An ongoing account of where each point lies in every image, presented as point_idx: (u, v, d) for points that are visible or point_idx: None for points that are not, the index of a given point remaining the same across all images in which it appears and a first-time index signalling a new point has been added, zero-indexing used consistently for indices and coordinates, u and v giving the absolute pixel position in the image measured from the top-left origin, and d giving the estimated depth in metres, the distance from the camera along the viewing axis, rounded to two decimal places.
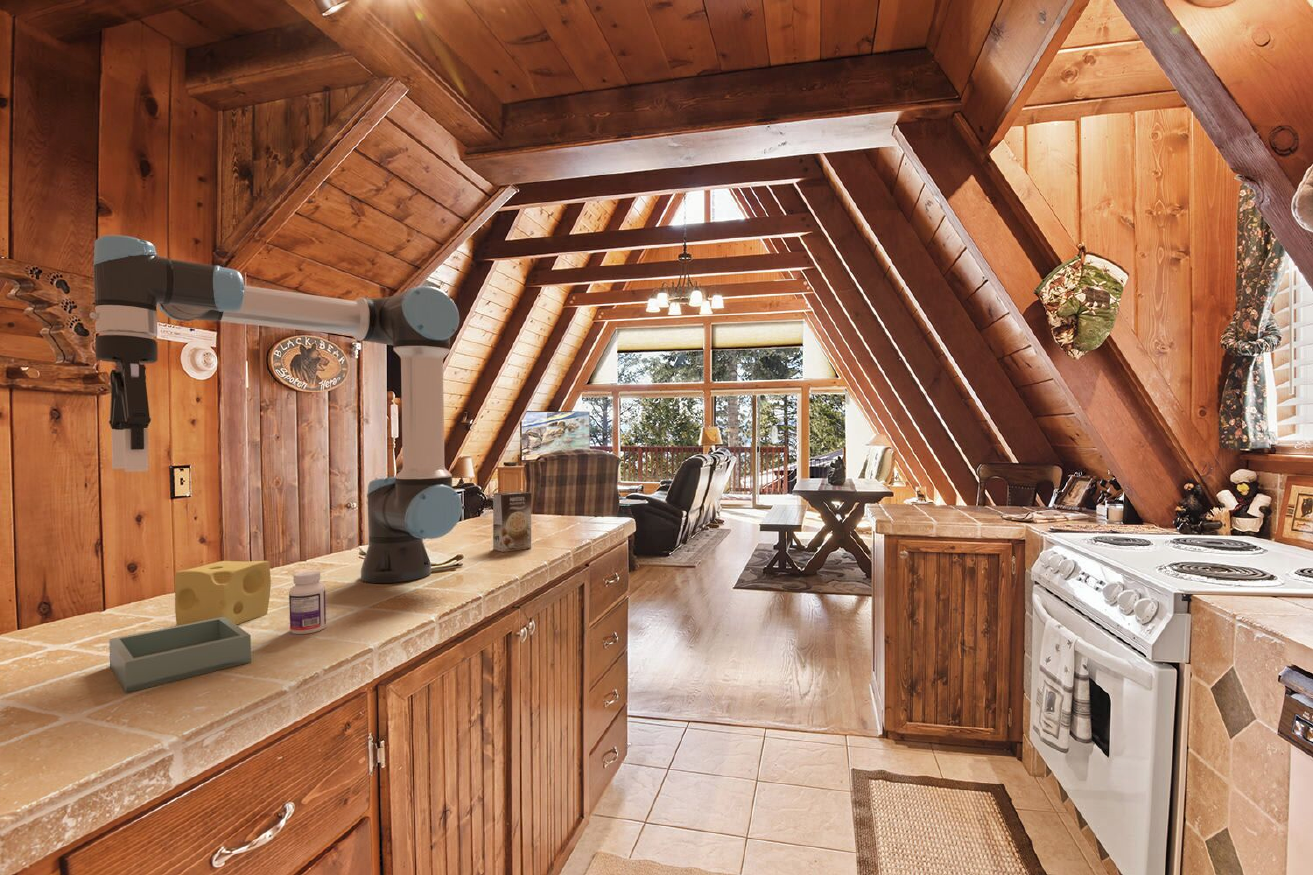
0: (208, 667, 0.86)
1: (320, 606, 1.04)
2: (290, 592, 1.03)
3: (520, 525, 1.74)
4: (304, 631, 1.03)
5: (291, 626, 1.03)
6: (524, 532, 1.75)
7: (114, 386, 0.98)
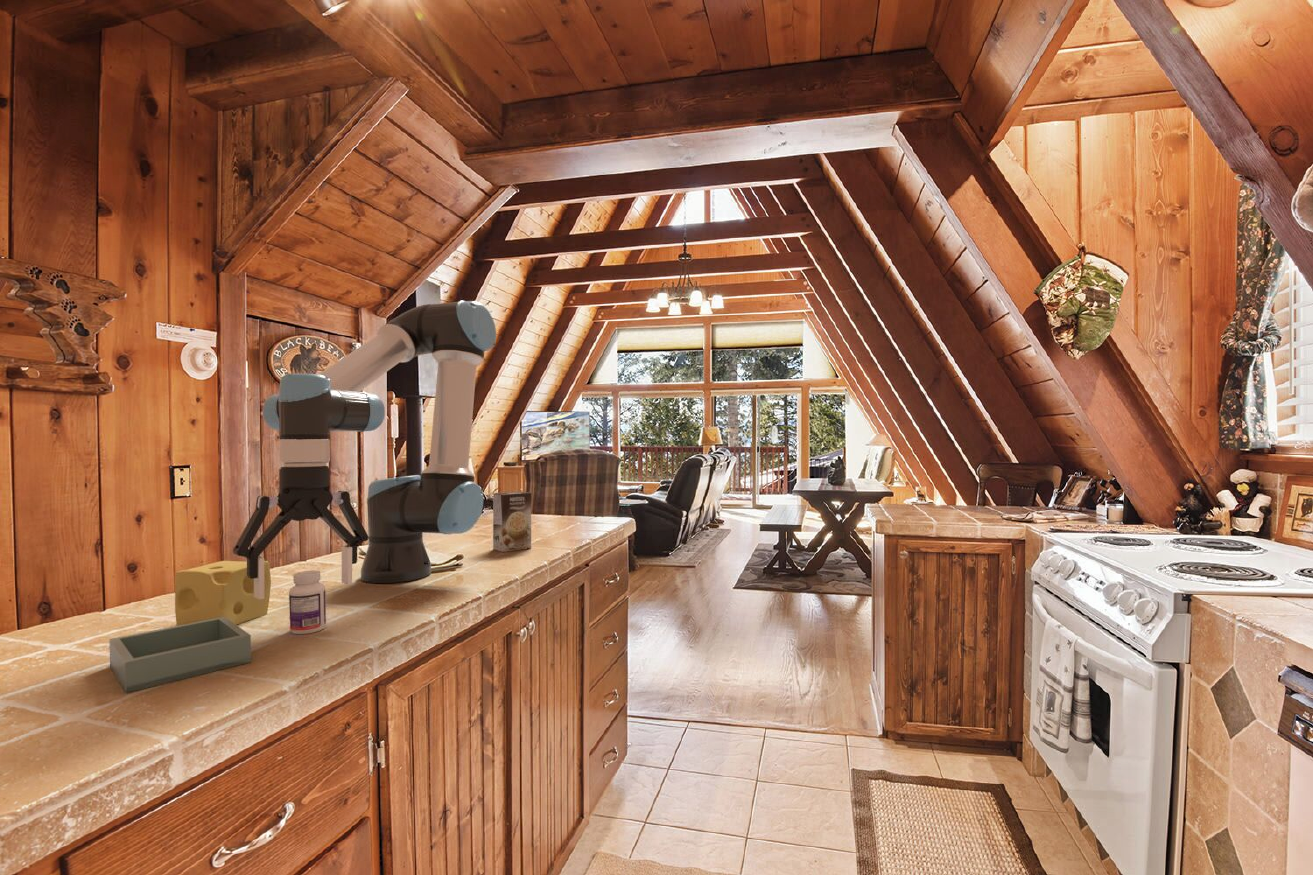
0: (208, 667, 0.86)
1: (320, 606, 1.04)
2: (290, 592, 1.03)
3: (520, 525, 1.74)
4: (304, 631, 1.03)
5: (291, 626, 1.03)
6: (524, 532, 1.75)
7: None
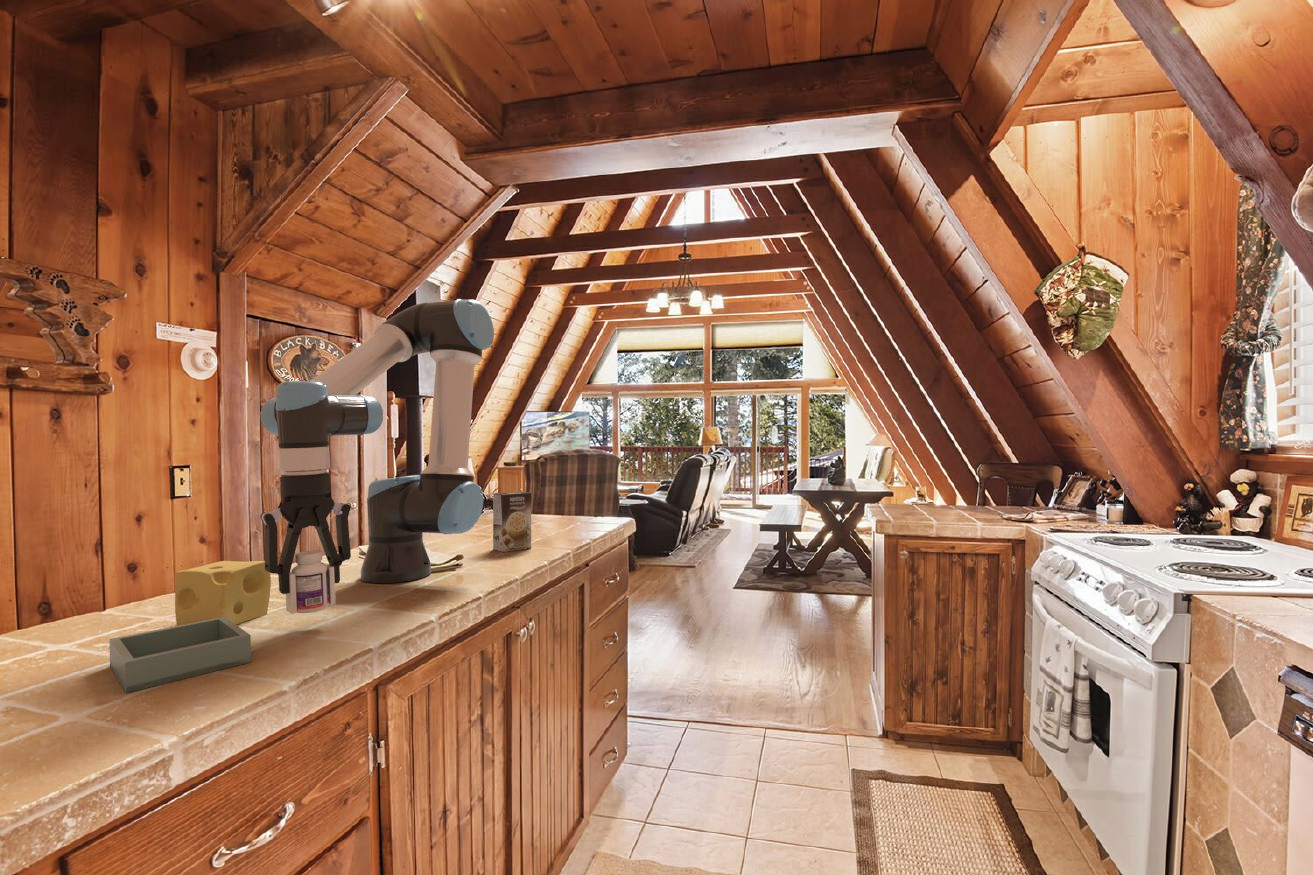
0: (208, 667, 0.86)
1: (323, 586, 1.05)
2: (292, 572, 1.03)
3: (520, 525, 1.74)
4: (307, 610, 1.03)
5: None
6: (524, 532, 1.75)
7: None
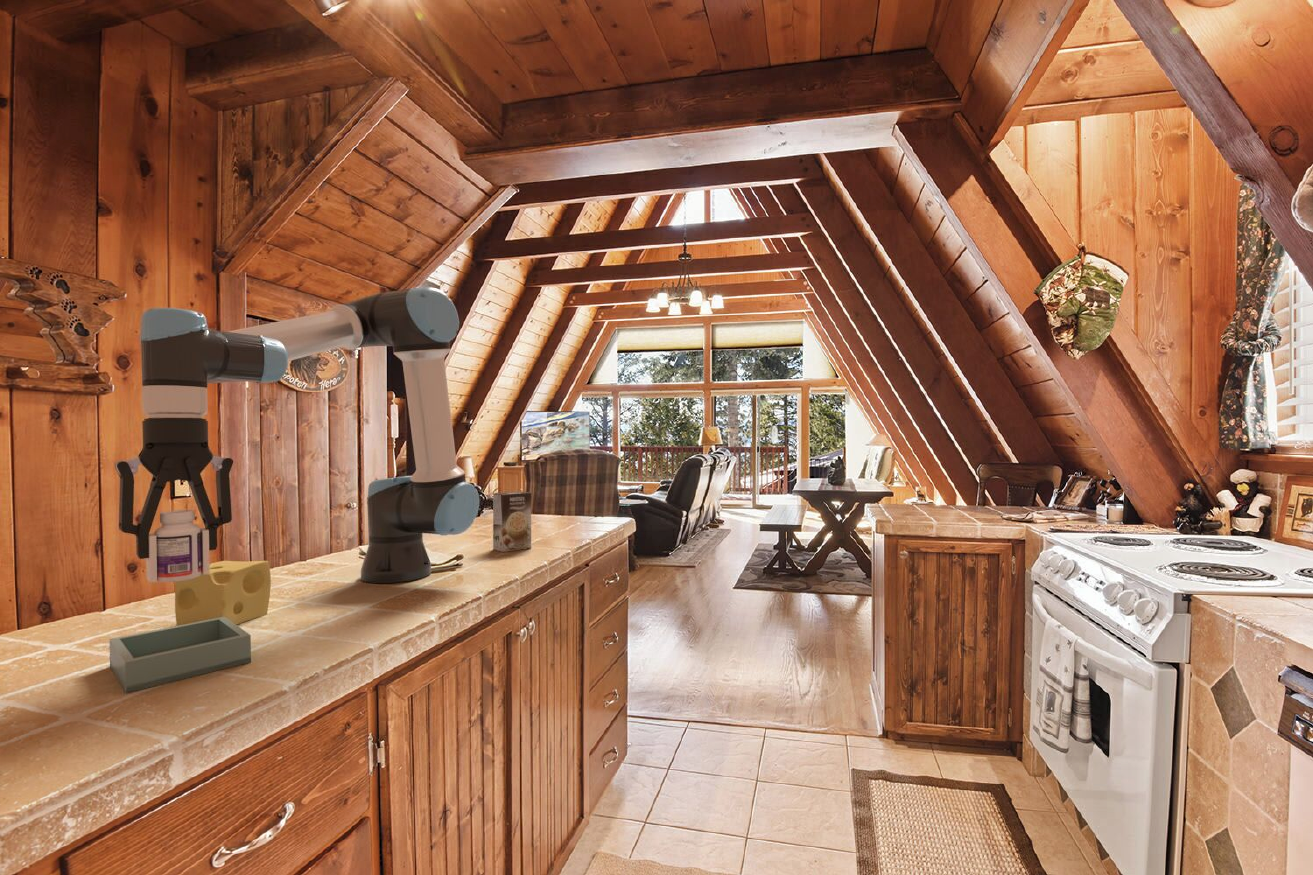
0: (208, 667, 0.86)
1: (192, 551, 0.89)
2: (154, 533, 0.87)
3: (520, 525, 1.74)
4: (170, 578, 0.87)
5: None
6: (524, 532, 1.75)
7: None
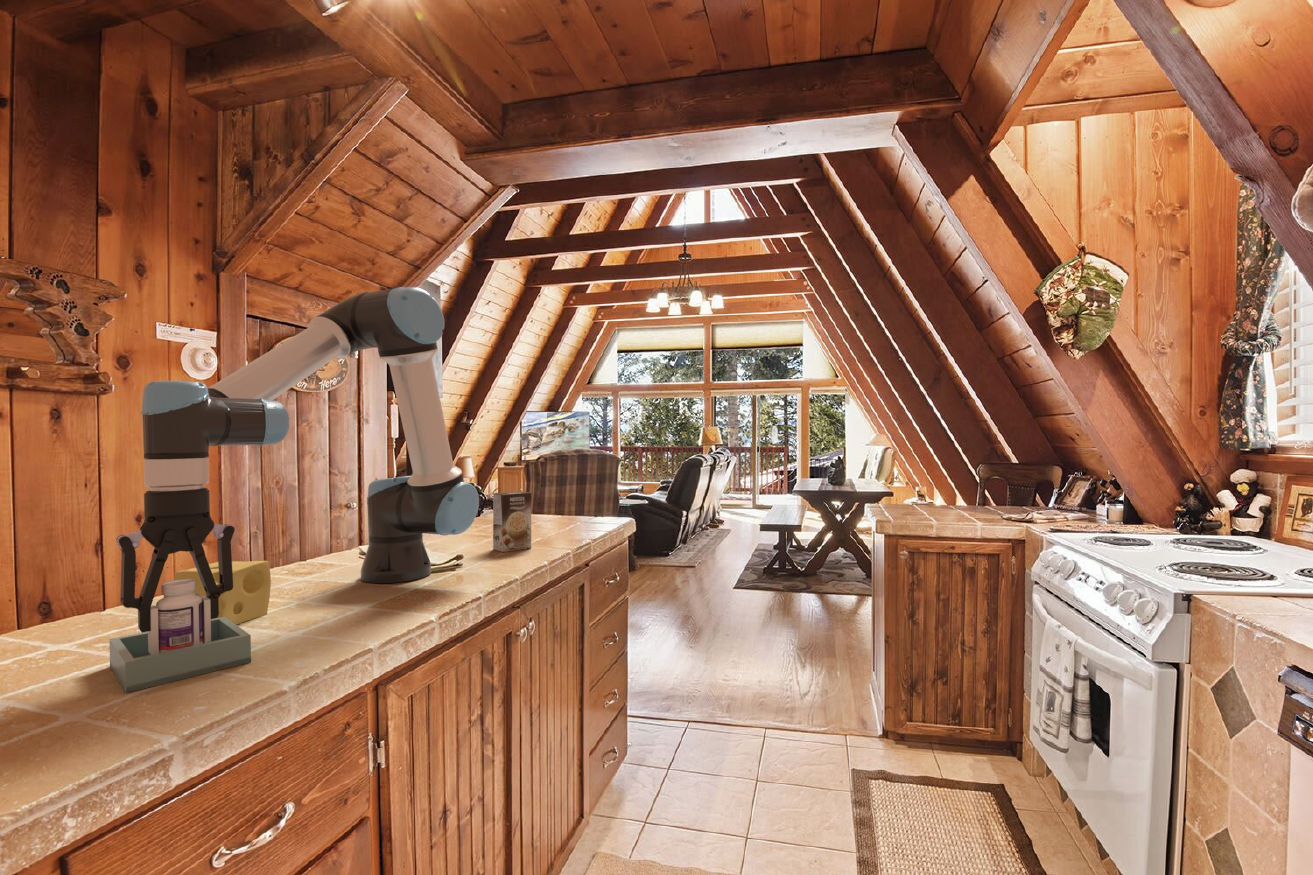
0: (208, 667, 0.86)
1: (194, 622, 0.89)
2: (156, 605, 0.88)
3: (520, 525, 1.74)
4: None
5: None
6: (524, 532, 1.75)
7: None
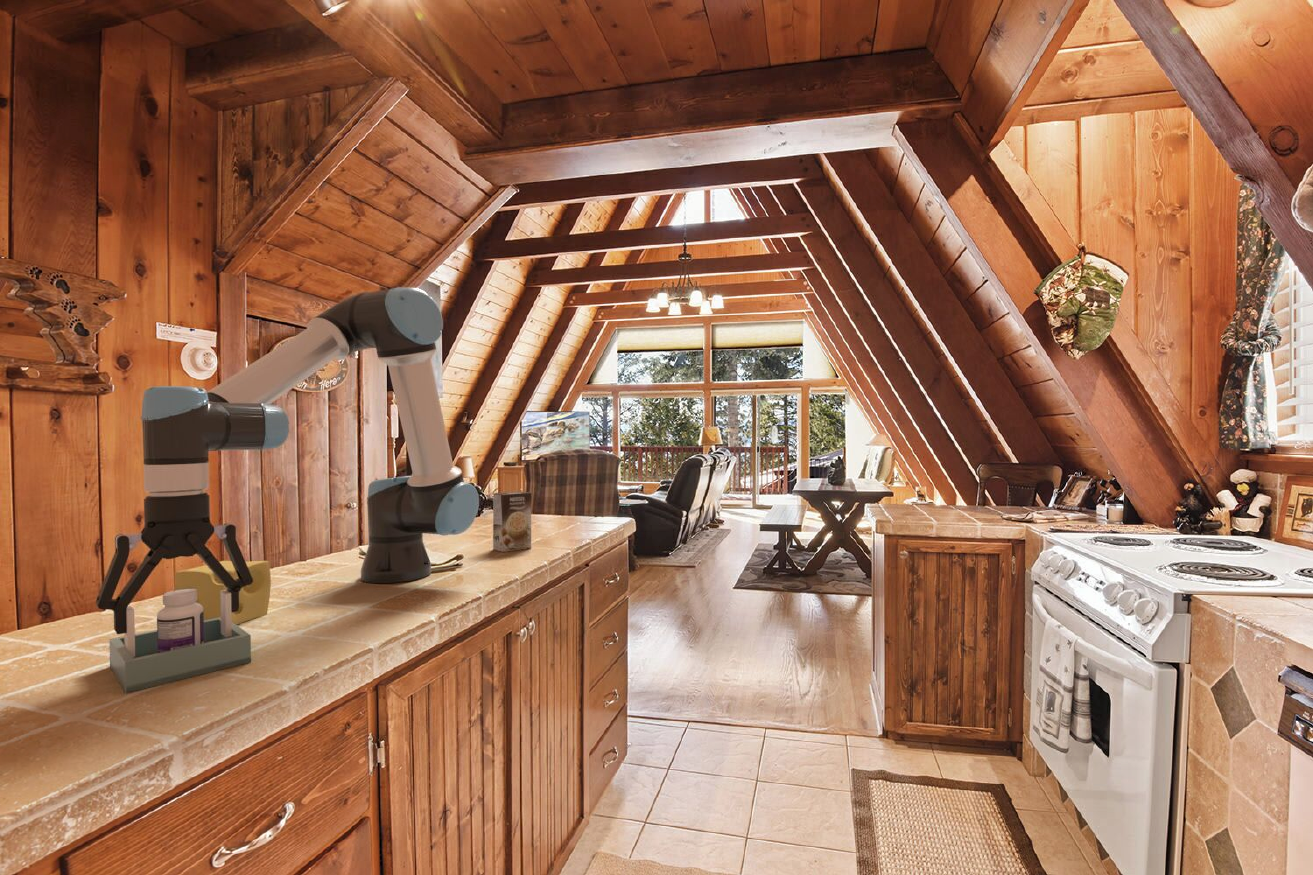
0: (208, 667, 0.86)
1: (195, 632, 0.89)
2: (157, 615, 0.88)
3: (520, 525, 1.74)
4: None
5: None
6: (524, 532, 1.75)
7: None
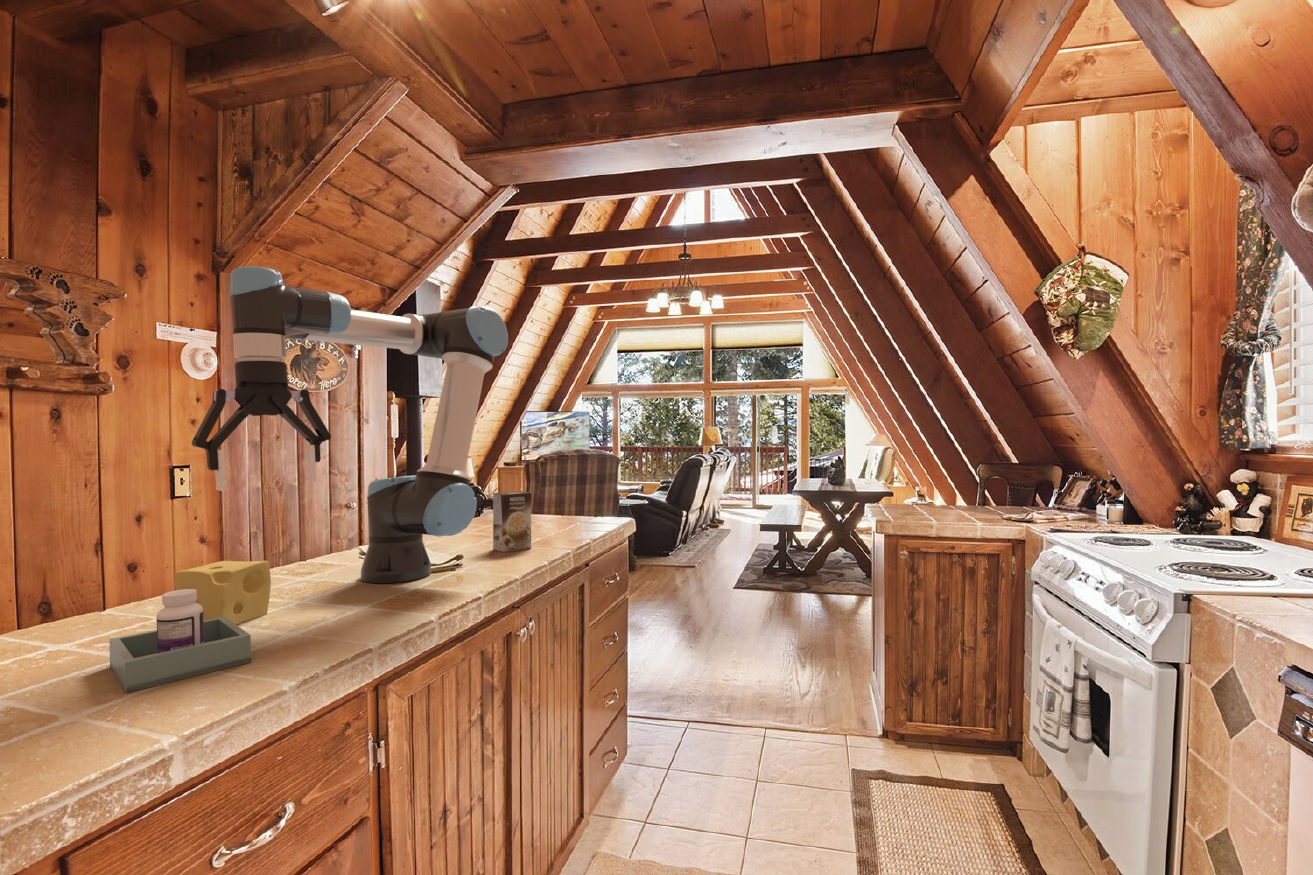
0: (208, 667, 0.86)
1: (195, 632, 0.89)
2: (157, 615, 0.88)
3: (520, 525, 1.74)
4: None
5: None
6: (524, 532, 1.75)
7: None
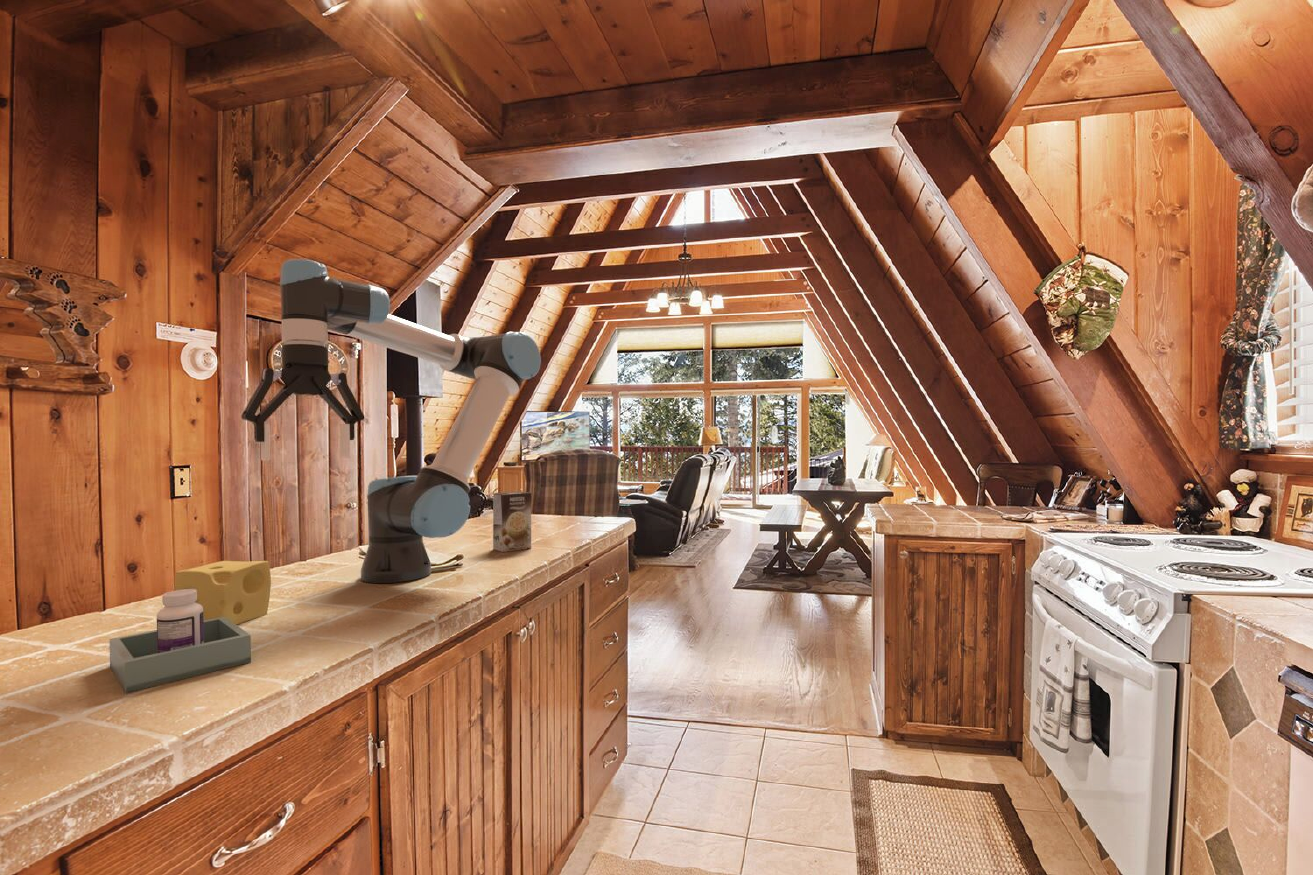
0: (208, 667, 0.86)
1: (195, 632, 0.89)
2: (157, 615, 0.88)
3: (520, 525, 1.74)
4: None
5: None
6: (524, 532, 1.75)
7: None
